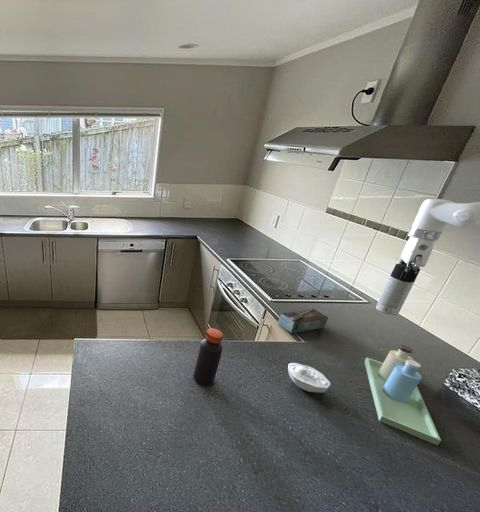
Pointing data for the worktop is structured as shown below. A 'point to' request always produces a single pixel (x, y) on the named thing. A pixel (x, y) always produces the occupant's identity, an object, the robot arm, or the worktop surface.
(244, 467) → the worktop surface
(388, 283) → the spray can
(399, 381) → the pale blue bottle
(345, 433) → the worktop surface
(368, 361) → the tray
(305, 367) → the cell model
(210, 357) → the vinegar
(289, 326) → the beverage carton
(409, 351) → the cream bottle
